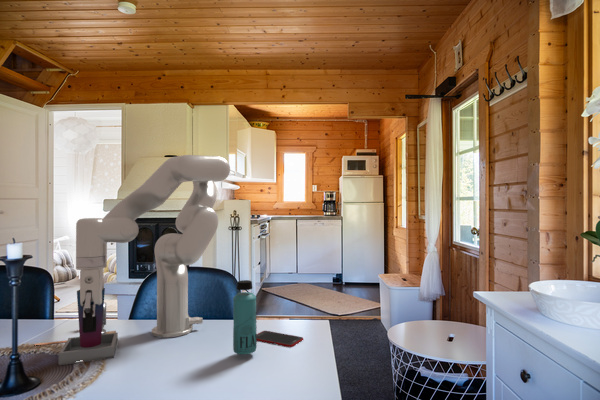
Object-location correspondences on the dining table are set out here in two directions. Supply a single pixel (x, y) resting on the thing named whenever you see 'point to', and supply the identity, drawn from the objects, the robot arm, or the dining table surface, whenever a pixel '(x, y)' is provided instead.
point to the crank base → (66, 340)
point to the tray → (88, 350)
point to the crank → (104, 319)
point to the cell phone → (278, 338)
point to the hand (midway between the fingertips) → (91, 327)
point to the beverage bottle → (244, 319)
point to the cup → (95, 337)
